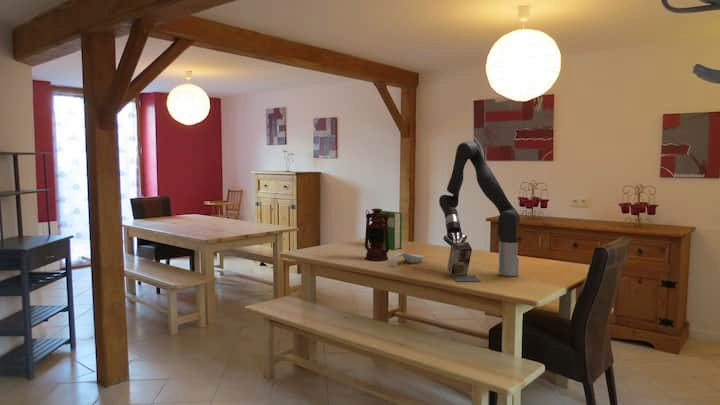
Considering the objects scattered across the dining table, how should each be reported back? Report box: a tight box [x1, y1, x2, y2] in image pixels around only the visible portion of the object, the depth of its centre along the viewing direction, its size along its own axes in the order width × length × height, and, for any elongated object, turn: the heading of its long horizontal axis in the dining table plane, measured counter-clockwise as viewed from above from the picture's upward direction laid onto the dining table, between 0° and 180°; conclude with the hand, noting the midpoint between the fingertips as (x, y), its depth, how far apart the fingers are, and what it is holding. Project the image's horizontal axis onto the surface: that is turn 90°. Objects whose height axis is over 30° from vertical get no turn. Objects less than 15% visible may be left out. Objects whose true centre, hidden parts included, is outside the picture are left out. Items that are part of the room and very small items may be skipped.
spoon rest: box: [389, 251, 425, 268], centre depth 284 cm, size 24×12×7 cm, turn 136°
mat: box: [450, 274, 482, 283], centre depth 248 cm, size 12×12×1 cm
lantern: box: [364, 208, 390, 262], centre depth 295 cm, size 17×14×30 cm
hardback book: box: [380, 210, 403, 251], centre depth 332 cm, size 18×7×24 cm, turn 44°
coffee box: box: [446, 241, 473, 276], centre depth 255 cm, size 9×6×16 cm
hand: (457, 251), depth 257 cm, fingers closed
